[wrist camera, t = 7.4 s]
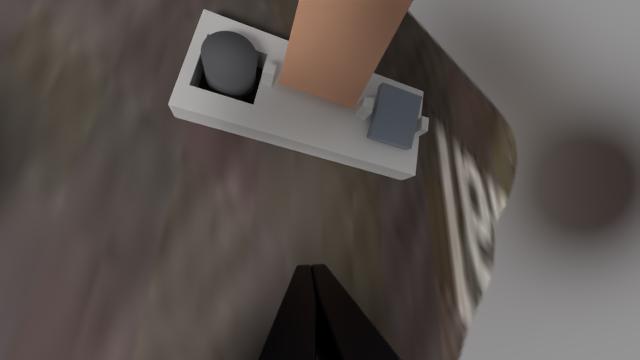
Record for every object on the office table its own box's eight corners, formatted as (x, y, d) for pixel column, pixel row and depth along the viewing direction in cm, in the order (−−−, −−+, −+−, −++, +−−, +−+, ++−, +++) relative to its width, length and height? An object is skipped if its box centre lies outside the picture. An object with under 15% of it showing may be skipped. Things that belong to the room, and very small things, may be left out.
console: (401, 180, 24) (428, 171, 21) (174, 117, 20) (161, 92, 16) (410, 101, 26) (435, 82, 23) (206, 28, 22) (200, -10, 18)
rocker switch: (405, 150, 22) (411, 148, 21) (366, 137, 21) (371, 135, 21) (416, 99, 23) (422, 96, 22) (378, 85, 22) (382, 82, 21)
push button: (248, 106, 21) (249, 86, 18) (199, 92, 20) (193, 68, 17) (259, 67, 22) (262, 42, 19) (213, 51, 21) (209, 22, 18)
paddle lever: (354, 108, 21) (446, -62, 13) (278, 83, 19) (330, -124, 12) (353, 99, 21) (440, -67, 14) (280, 74, 20) (331, -126, 12)
